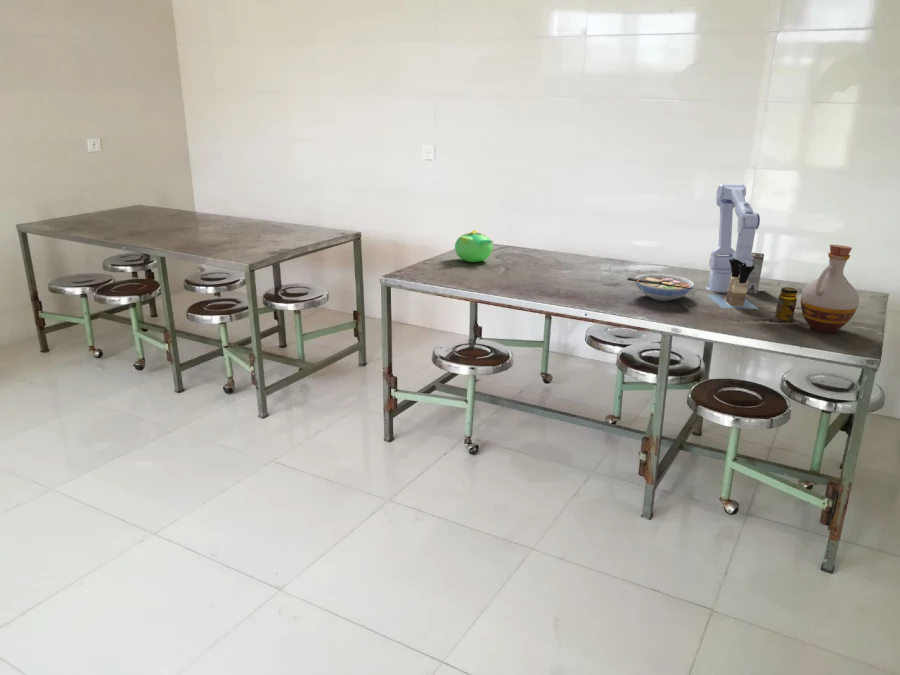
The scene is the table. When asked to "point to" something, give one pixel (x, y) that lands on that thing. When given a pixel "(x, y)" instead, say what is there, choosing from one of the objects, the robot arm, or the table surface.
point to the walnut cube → (735, 298)
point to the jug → (830, 295)
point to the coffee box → (755, 273)
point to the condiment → (786, 305)
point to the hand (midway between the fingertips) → (738, 280)
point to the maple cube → (737, 285)
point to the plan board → (723, 304)
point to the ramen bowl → (663, 286)
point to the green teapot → (473, 247)
